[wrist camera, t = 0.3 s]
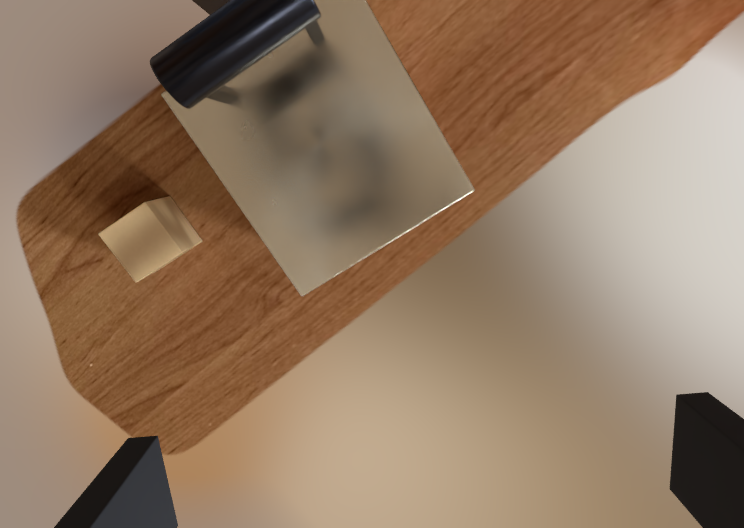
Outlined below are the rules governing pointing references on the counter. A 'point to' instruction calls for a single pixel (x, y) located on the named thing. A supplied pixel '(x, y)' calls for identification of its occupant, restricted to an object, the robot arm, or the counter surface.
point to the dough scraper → (311, 129)
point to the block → (150, 237)
